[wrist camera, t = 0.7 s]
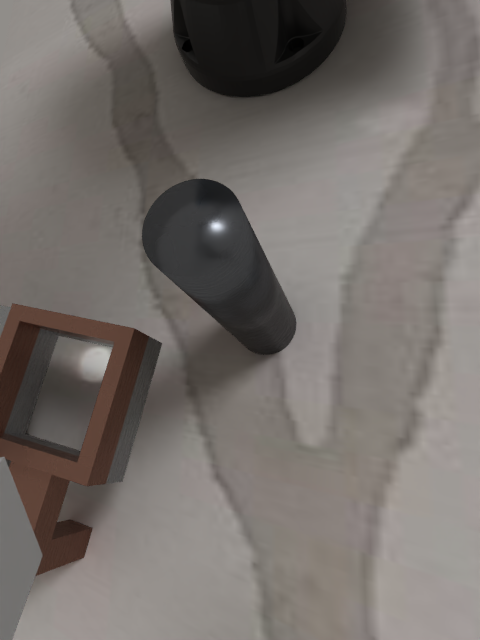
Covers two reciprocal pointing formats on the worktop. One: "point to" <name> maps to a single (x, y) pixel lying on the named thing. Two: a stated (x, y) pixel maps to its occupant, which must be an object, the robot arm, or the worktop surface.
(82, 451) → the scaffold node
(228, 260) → the pin
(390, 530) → the worktop surface
